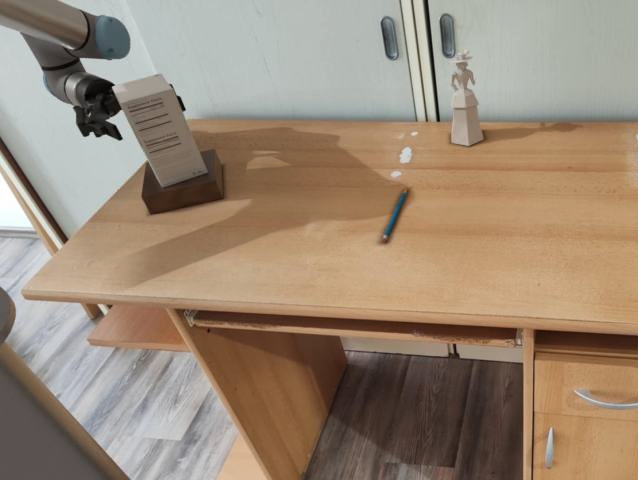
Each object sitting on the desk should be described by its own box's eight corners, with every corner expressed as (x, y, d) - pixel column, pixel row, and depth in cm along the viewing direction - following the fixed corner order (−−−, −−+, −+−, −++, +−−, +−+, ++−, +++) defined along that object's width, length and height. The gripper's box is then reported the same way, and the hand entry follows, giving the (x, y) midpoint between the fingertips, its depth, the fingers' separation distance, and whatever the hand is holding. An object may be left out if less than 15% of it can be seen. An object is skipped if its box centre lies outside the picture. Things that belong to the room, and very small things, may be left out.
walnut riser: (150, 214, 114) (140, 196, 111) (154, 180, 123) (145, 162, 121) (223, 198, 116) (215, 180, 113) (221, 165, 126) (214, 148, 123)
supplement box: (151, 169, 118) (109, 85, 106) (196, 154, 121) (160, 71, 109) (162, 189, 112) (119, 102, 100) (209, 173, 115) (173, 87, 103)
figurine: (479, 127, 129) (474, 40, 116) (486, 144, 124) (482, 54, 111) (448, 131, 129) (440, 45, 116) (453, 148, 123) (445, 60, 110)
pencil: (381, 243, 102) (380, 240, 101) (404, 190, 113) (403, 187, 113) (385, 243, 102) (385, 240, 101) (408, 190, 113) (408, 187, 113)
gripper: (156, 91, 129) (213, 111, 119) (46, 138, 116) (99, 165, 106) (141, 55, 124) (198, 73, 114) (23, 100, 111) (77, 125, 101)
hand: (150, 118), depth 110 cm, fingers open, 13 cm apart
